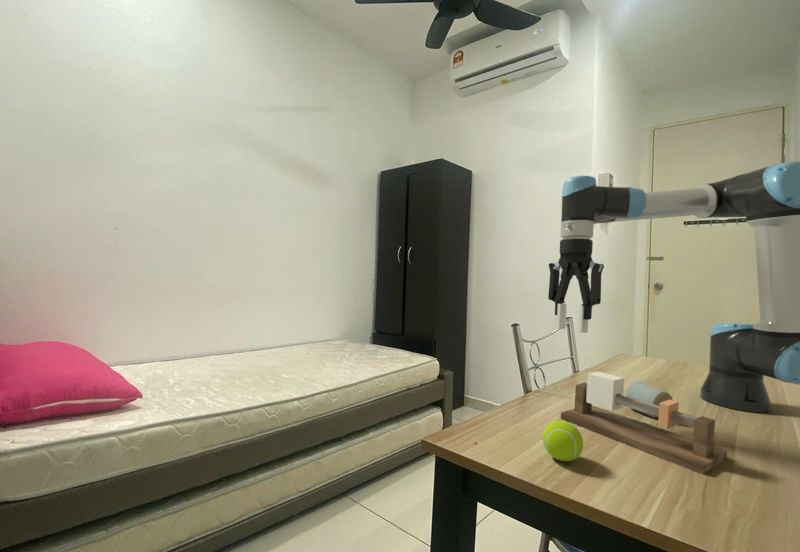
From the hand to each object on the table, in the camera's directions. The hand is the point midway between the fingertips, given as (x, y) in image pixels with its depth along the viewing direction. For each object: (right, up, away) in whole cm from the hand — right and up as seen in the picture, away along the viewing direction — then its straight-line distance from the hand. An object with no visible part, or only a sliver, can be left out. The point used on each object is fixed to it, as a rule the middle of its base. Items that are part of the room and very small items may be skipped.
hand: (571, 330), depth 95 cm
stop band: (+11, -17, -18) cm, 27 cm away
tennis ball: (-13, -21, -25) cm, 35 cm away
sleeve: (+4, -16, -7) cm, 18 cm away
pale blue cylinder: (+21, -22, +2) cm, 31 cm away
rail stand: (+8, -21, -13) cm, 26 cm away
